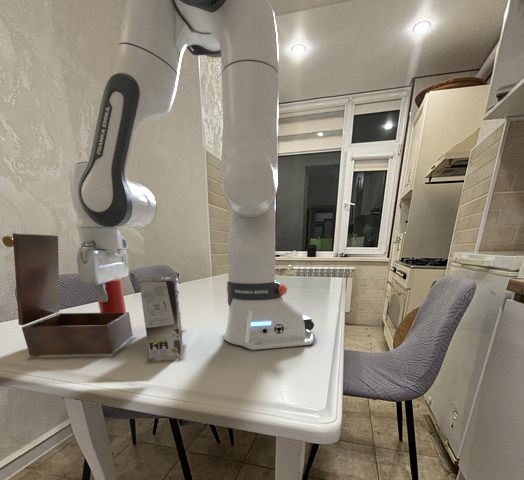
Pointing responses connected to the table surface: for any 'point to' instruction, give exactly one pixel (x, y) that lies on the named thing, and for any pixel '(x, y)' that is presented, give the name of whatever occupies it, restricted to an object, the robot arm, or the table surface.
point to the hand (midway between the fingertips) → (111, 298)
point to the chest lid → (35, 275)
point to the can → (113, 298)
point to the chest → (78, 333)
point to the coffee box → (162, 316)
